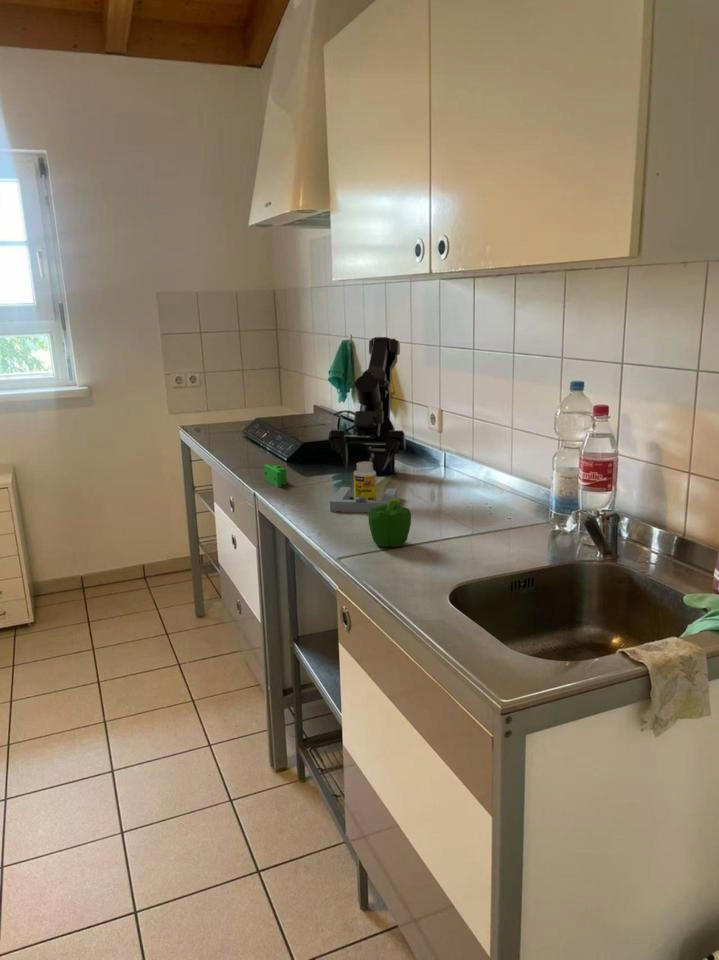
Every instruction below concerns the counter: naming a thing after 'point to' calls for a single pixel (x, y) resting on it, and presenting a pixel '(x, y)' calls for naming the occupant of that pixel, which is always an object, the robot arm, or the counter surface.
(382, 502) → the housing cradle
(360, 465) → the supplement bottle
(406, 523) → the bell pepper
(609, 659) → the counter surface
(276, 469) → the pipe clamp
